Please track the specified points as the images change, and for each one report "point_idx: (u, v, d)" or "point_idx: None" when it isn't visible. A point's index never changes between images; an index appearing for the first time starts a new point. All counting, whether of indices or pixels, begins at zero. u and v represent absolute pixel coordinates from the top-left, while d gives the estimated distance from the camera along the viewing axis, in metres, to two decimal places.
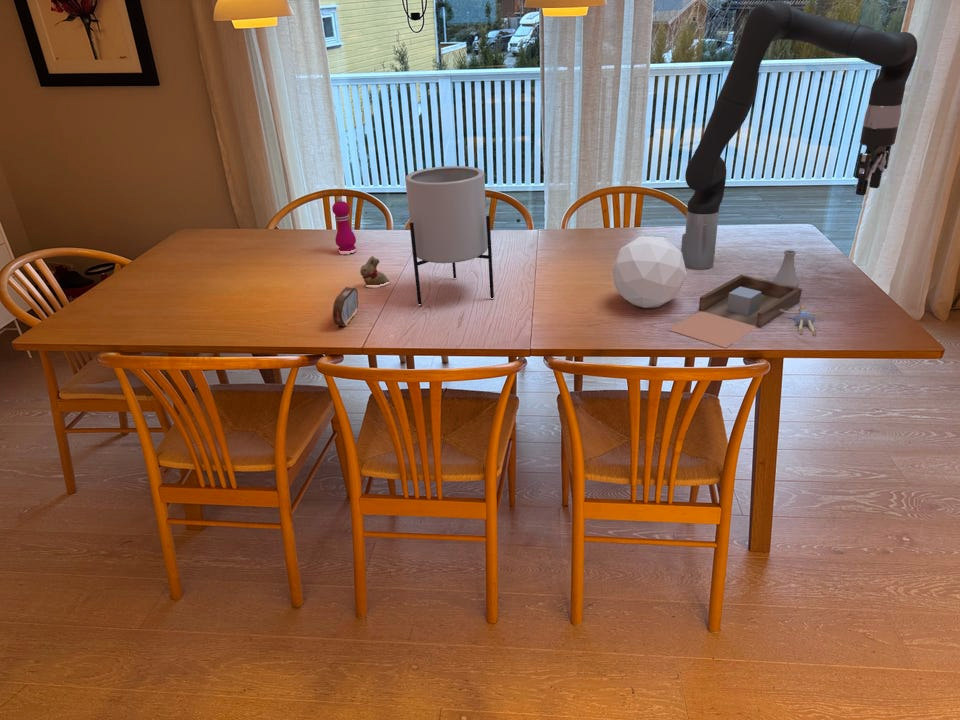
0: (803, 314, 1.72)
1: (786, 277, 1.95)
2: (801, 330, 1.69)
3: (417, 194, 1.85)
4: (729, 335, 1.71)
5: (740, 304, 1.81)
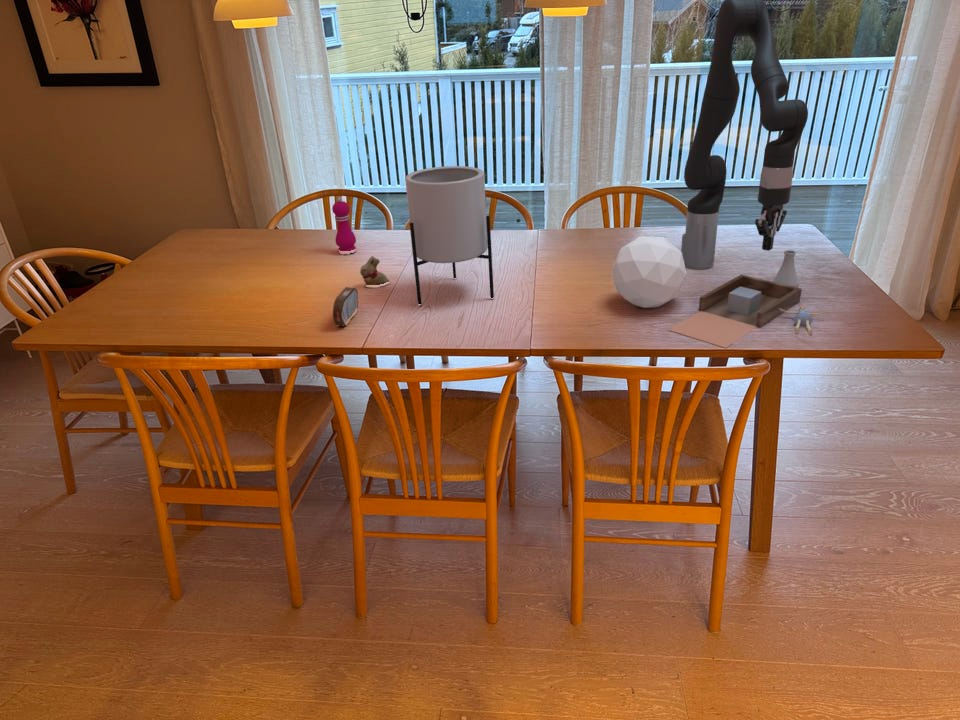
0: (801, 314, 1.72)
1: (786, 277, 1.95)
2: (797, 330, 1.69)
3: (417, 194, 1.85)
4: (729, 335, 1.71)
5: (740, 304, 1.81)
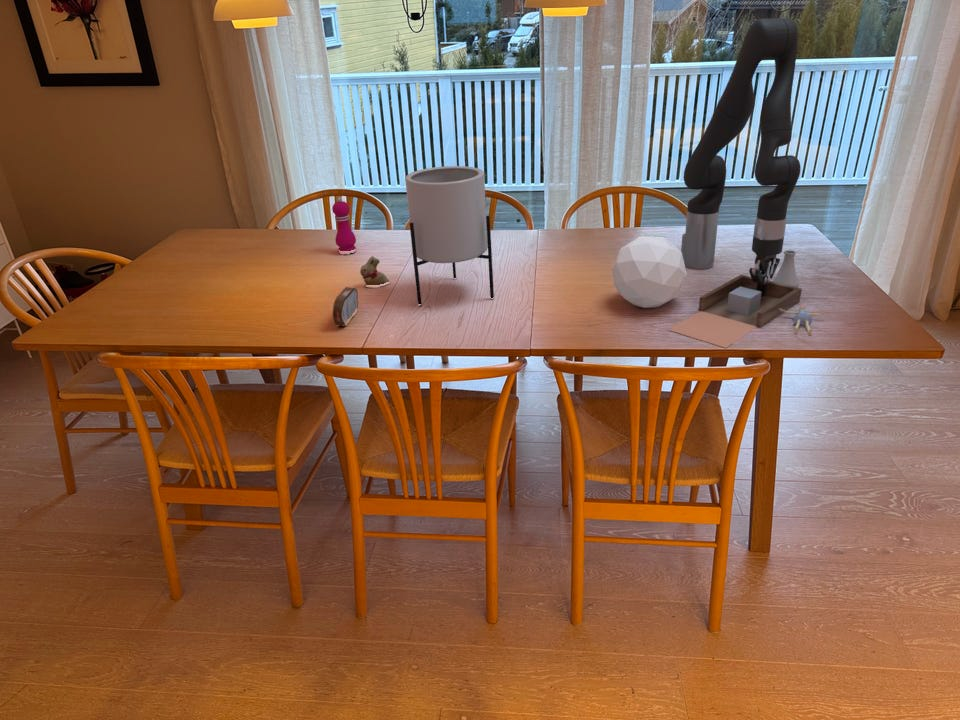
0: (800, 314, 1.72)
1: (786, 277, 1.95)
2: (796, 330, 1.69)
3: (417, 194, 1.85)
4: (729, 335, 1.71)
5: (740, 304, 1.81)
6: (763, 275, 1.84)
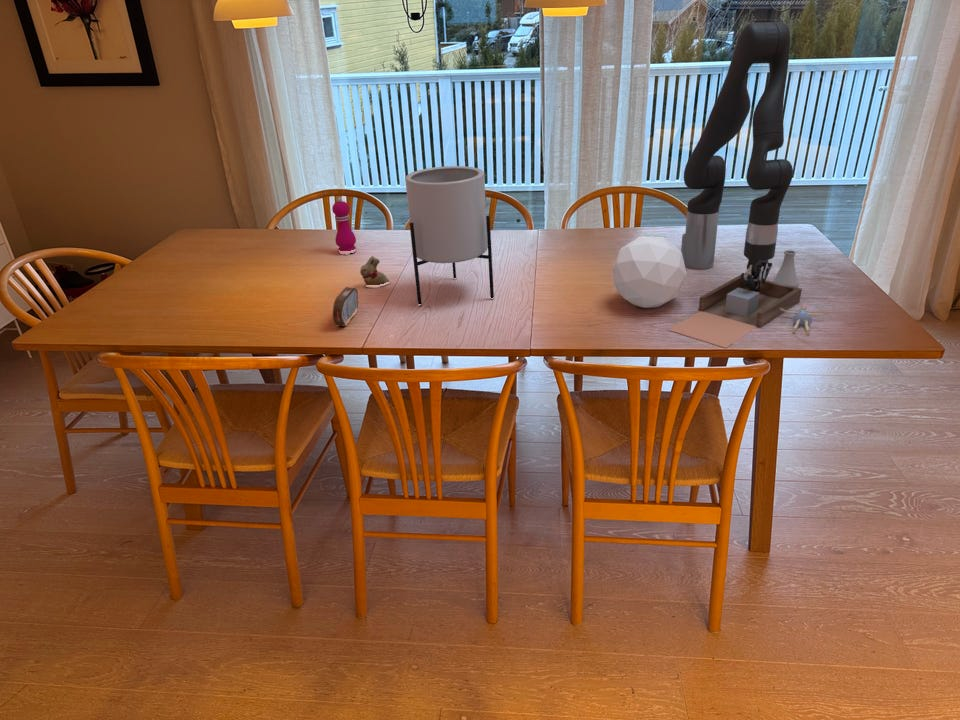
0: (800, 314, 1.72)
1: (786, 277, 1.95)
2: (794, 329, 1.69)
3: (417, 194, 1.85)
4: (729, 335, 1.71)
5: (739, 305, 1.80)
6: (755, 280, 1.82)
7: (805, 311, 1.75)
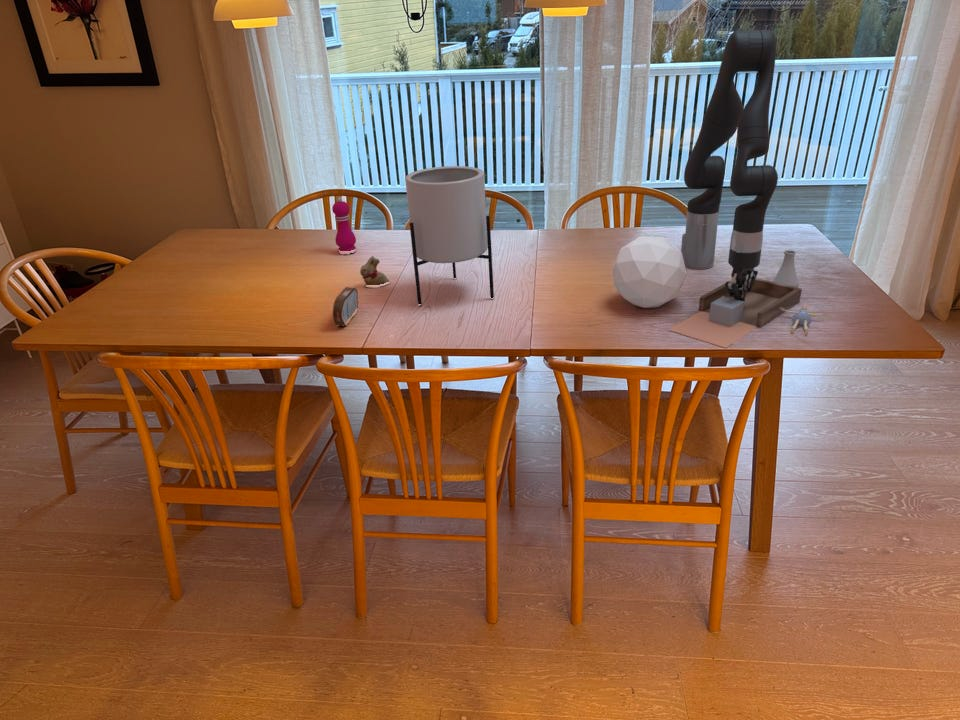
0: (799, 314, 1.72)
1: (786, 277, 1.95)
2: (792, 329, 1.70)
3: (417, 194, 1.85)
4: (729, 335, 1.71)
5: (723, 314, 1.75)
6: (740, 289, 1.77)
7: (805, 311, 1.75)
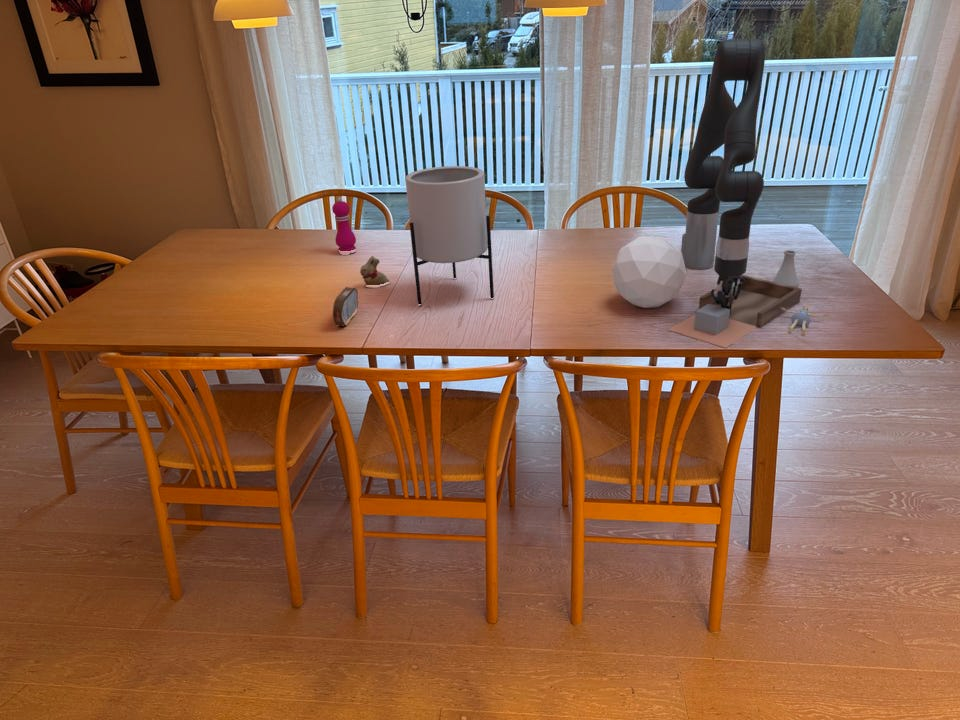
0: (798, 314, 1.72)
1: (786, 277, 1.95)
2: (789, 329, 1.70)
3: (417, 194, 1.85)
4: (729, 335, 1.71)
5: (708, 322, 1.72)
6: (726, 296, 1.73)
7: (805, 311, 1.75)
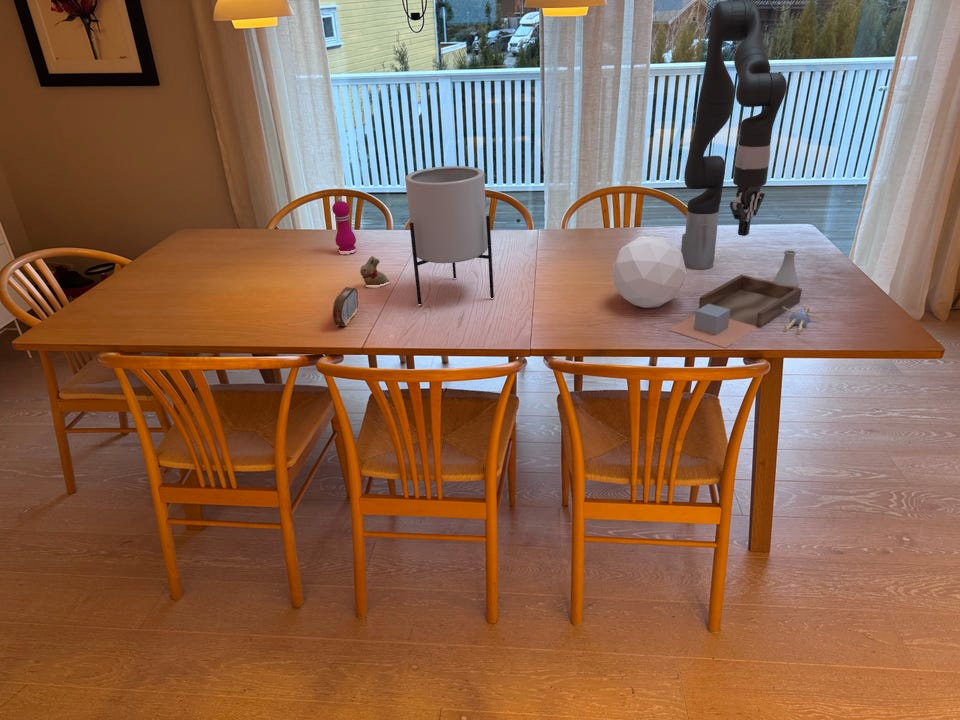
0: (796, 313, 1.73)
1: (786, 277, 1.95)
2: (785, 327, 1.71)
3: (417, 194, 1.85)
4: (729, 335, 1.71)
5: (708, 322, 1.72)
6: (745, 210, 1.67)
7: (805, 311, 1.74)
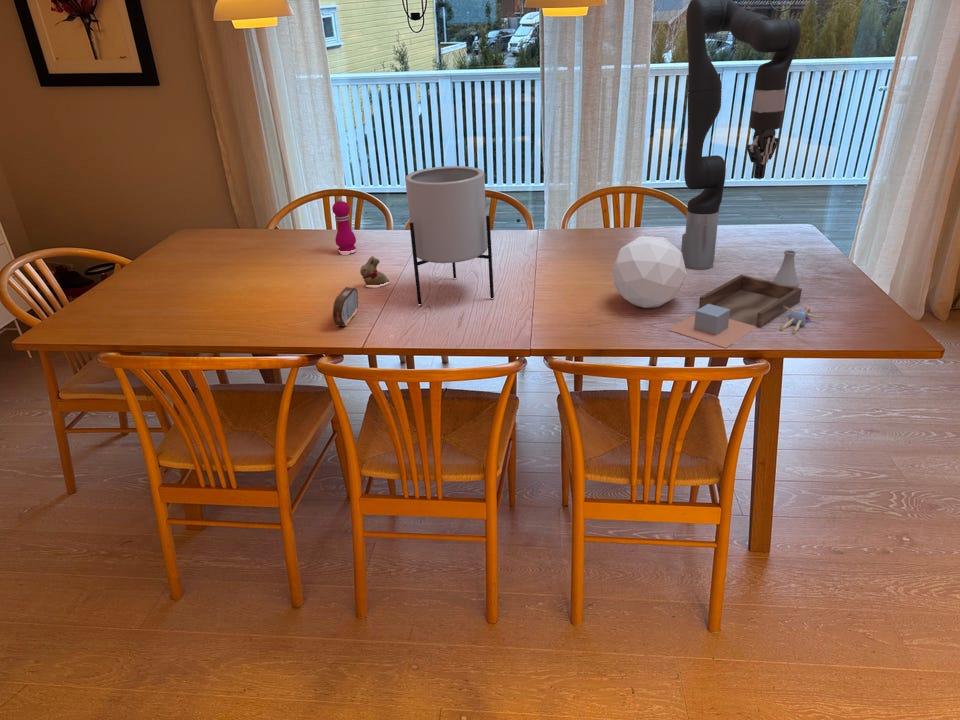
0: (795, 313, 1.73)
1: (786, 277, 1.95)
2: (781, 326, 1.71)
3: (417, 194, 1.85)
4: (729, 335, 1.71)
5: (708, 322, 1.72)
6: (761, 153, 1.76)
7: (805, 312, 1.74)
